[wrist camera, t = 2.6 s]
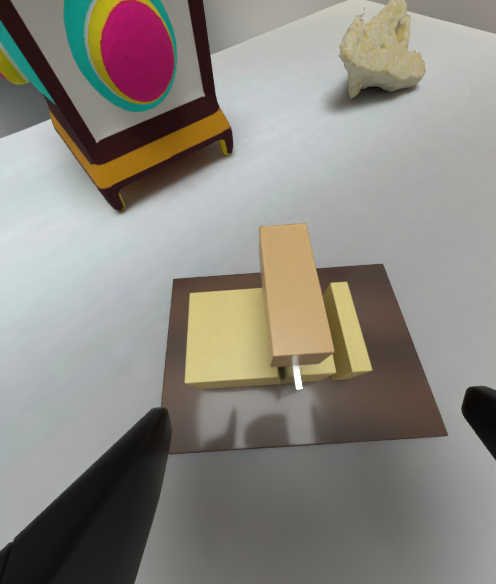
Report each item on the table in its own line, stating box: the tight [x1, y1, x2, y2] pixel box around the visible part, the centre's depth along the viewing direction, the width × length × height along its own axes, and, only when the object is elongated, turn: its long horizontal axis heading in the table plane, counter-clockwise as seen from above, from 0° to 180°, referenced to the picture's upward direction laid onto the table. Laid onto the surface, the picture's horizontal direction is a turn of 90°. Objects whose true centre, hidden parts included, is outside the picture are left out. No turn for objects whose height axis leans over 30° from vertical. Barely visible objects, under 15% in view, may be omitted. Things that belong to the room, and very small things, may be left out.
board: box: [161, 264, 448, 454], centre depth 20 cm, size 14×20×1 cm
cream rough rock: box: [339, 0, 426, 99], centre depth 35 cm, size 15×7×15 cm
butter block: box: [185, 288, 336, 389], centre depth 17 cm, size 6×9×4 cm, turn 93°
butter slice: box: [323, 282, 372, 380], centre depth 17 cm, size 6×1×4 cm, turn 3°
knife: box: [259, 223, 335, 397], centre depth 13 cm, size 8×2×9 cm, turn 3°
